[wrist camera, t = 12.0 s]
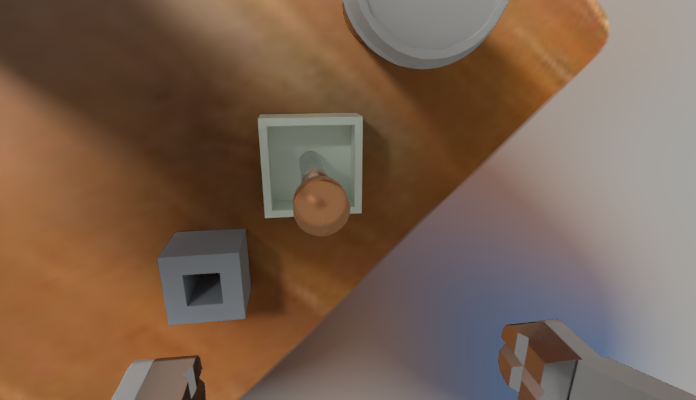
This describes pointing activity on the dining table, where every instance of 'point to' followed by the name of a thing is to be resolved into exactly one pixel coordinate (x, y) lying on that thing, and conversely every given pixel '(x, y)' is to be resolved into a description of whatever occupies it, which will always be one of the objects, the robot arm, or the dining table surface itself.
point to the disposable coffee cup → (422, 28)
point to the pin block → (205, 276)
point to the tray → (299, 137)
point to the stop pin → (319, 198)
